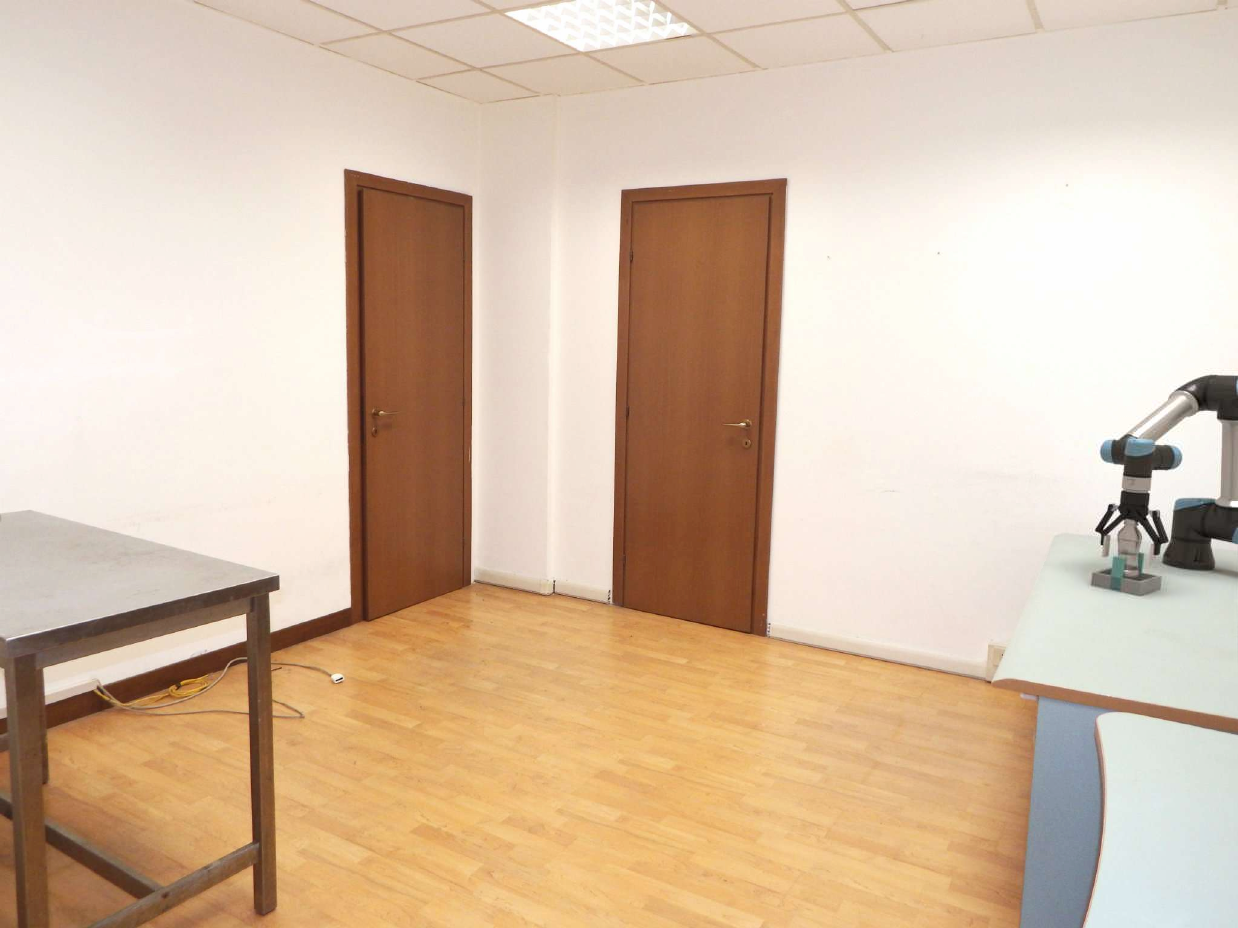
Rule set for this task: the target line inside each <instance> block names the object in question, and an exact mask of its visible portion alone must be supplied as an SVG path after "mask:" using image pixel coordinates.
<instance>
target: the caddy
mask: <svg viewBox="0 0 1238 928" xmlns="http://www.w3.org/2000/svg"><path fill="white" fill-rule="evenodd" d="M1144 559H1145V553H1144V552H1140V551H1139V554H1138V571H1139V579H1138V581H1135V580H1130V579H1125V578H1123V574H1124V565H1125V558H1122V557H1118V556H1112V562H1111V567H1107V568H1103V569H1100V570H1096V571H1092V572H1091V581H1090V585H1091V587H1092V586H1094V587H1096V588H1097V587H1098V588H1102V589H1108V590H1111V591H1116V592H1121V593H1124V594H1130V595H1134V596H1139V597H1142V596H1144V595H1149V594H1151V593H1153V592H1157V591H1160V590H1161V586H1162V577H1163V576H1162V575H1157V574H1152V573H1146V572H1143V570H1144Z"/></svg>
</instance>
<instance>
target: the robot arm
mask: <svg viewBox="0 0 1238 928" xmlns="http://www.w3.org/2000/svg"><path fill="white" fill-rule="evenodd" d="M1206 411H1207V412H1216V420H1217V421H1219V422H1220V424H1222V425H1221V457H1220V458H1221V463H1220V496H1219V497H1218V498H1217V499H1216V498H1213V497H1180V498H1178V499H1176V500H1175V501H1174V504H1173V505H1174V506H1173V509H1172V522H1171V529H1170V531H1171V532H1170V540H1169V538H1168V535H1167V533H1166V530H1165V526H1164V524H1163V522H1162V518H1161V511H1160V510H1159V509H1156V510H1154V509H1150V507H1149V505H1150V497H1151V494H1150V491H1151V487H1152V478H1153V476H1152V475H1153V471H1171V470H1175V469H1177V468H1179V467H1180V465H1181V464H1182V461H1183V454H1182V451H1181V450H1180V448H1178V447H1177V446H1175V445H1170V444H1156V442H1157V441H1159V440H1160V439H1161V438H1162V437H1163V436H1165V435H1166V434H1167V433H1168V432H1169V431H1171V430H1172V429H1174V428H1175V427H1176V426H1177V425H1178V424H1179V423H1180V422H1182V421H1184V420H1185V419H1186V418H1189V417H1193V416H1195V415H1196V414H1197V413H1199V412H1200V413H1201V412H1206ZM1099 455H1100V458H1101V460H1102V461H1103V462H1105V463H1109V464H1113V465H1116V466H1117V465H1119V466H1123V473H1122V481H1121V489H1122V490H1121V491H1120V497H1119V499H1120V500H1119V502H1120V503H1119V505H1118V504H1116V503H1109V504H1108V505H1107V510H1106V512H1105V513H1104V514H1103V517H1102V518H1101V519H1100V521H1099V522H1098V524H1097V525H1096V527H1095V528H1094V531H1095V532H1096V533H1098V534H1100V546H1102V555H1101V557H1102V558H1108V557H1110V547H1111V546H1110V545H1111V536H1112V535H1111V534H1110V533H1111V532H1112V531H1113V530H1115V529H1116V528H1117V527H1118V526H1119V525H1120V524H1121V523H1123V522H1124V519H1125V518H1126V519H1130V520H1136V521H1137V522H1138V524H1140V525H1141V526H1142V528H1143V529H1144V530H1145V532H1146V533H1147V535H1148V536H1149V538H1150V540H1151V541H1152V542H1153V543H1151V544H1150V549H1149V560H1148V566H1149V567H1155V566H1156V562H1157V556H1160V555H1161V547H1162V545H1163V544H1168V545H1167V547H1166V548H1165V550H1164V552H1163V554H1162V558H1161V559H1162V560H1161V562H1162V563H1163V564H1166V565H1167V566H1172V567H1176V568H1182V569H1186V570H1196V571H1197V570H1198V571H1210V570H1211V571H1212V570H1214V569H1215V567H1216V560H1215V556H1214V552H1213V547H1212V540H1217V541H1220V542H1226V543H1229V544H1230V543H1231V544H1234V545H1238V375H1226V374H1225V375H1224V374H1219V375H1218V374H1208V375H1203V376H1199V377H1197V378H1195V379H1192V380H1190V381H1188V382H1186V383H1184V384H1182V385H1180V386H1179V387H1178V388H1176V389H1175V390H1174V391H1172V392H1171V393H1170V394H1169V396H1168V398H1167V400H1166V401H1165V402H1163V404H1161V405H1160V406H1158V407H1157V408H1156V409H1155V410H1154V411H1152V412H1151V413H1150V414H1149V415H1148V416H1146V417H1145V418H1144V419H1142V420H1141V421H1140V422H1138V424H1136V425H1135V426H1133V427H1132V428H1131V429H1130V430H1129V431H1127V432H1126V433H1125V434H1124V435H1122V436H1121V437H1120V438H1119V439H1116V438H1115V439H1114V438H1113V439H1107V440H1106V439H1105V441H1104V442H1103V443H1102V444H1101V445H1100V450H1099ZM1117 511H1118V512H1119V514H1118V516H1117V517H1116V518H1115V519H1114V520H1113V521H1111V523H1110V524H1108V523H1109V521H1110V520H1111V518H1112V516H1113V515H1114V513H1115V512H1117ZM1147 516H1150V518H1151V519H1152V523H1153V525H1154V527H1155V529H1154V527H1153V526H1152V524H1151V523H1150V520H1149V519H1148V518H1147ZM1107 524H1108V525H1107Z"/></svg>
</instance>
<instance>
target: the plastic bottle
mask: <svg viewBox="0 0 1238 928" xmlns="http://www.w3.org/2000/svg"><path fill="white" fill-rule="evenodd" d="M1139 524H1140V523H1139V522H1137V521H1136V520H1130V519H1126V518H1125V519H1124V520H1123V525H1124V526H1122V528H1121V529H1120V530H1118V533H1117V535H1116V536H1117V537H1116V538H1117V539H1116V540H1117V557H1122V558H1125V565H1124V574H1123V578H1125V579H1130V580H1135V581H1138V579H1139V571H1138V554H1139V552H1140V549H1141V545H1142V541H1143V535H1142V534H1143V533H1141V531H1140V529H1139V528H1138V526H1139Z"/></svg>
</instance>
